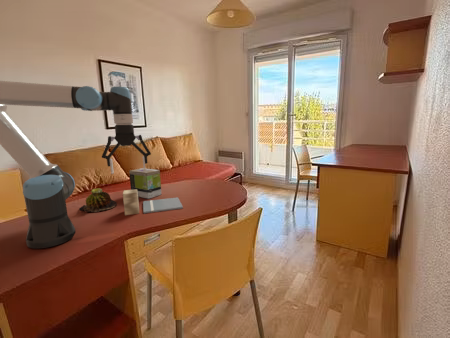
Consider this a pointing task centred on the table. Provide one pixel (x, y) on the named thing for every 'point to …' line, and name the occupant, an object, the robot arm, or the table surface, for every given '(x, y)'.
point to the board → (161, 205)
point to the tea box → (146, 182)
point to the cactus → (98, 201)
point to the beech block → (131, 202)
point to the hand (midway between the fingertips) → (128, 172)
